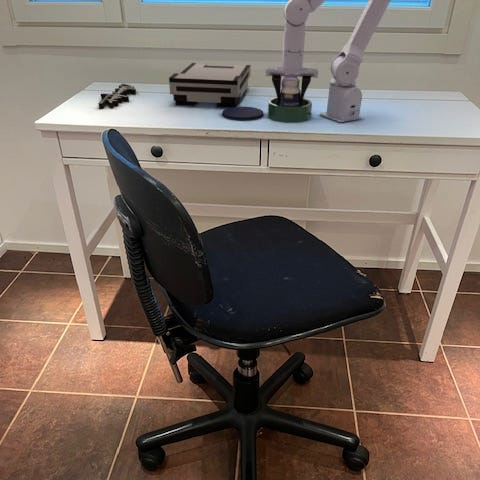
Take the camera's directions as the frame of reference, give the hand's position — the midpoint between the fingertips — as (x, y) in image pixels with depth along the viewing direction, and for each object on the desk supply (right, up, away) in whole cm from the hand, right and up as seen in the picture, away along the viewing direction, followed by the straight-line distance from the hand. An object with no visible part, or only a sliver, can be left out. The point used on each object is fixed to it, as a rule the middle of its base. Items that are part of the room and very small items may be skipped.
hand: (289, 104), depth 141 cm
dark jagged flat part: (-54, +10, +18) cm, 58 cm away
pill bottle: (0, -3, +2) cm, 4 cm away
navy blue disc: (-14, -2, +3) cm, 14 cm away
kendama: (+2, +10, +19) cm, 22 cm away
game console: (-23, +12, +21) cm, 34 cm away
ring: (0, -3, +2) cm, 3 cm away
